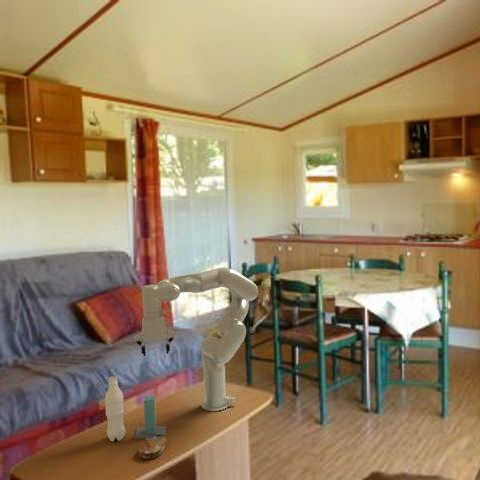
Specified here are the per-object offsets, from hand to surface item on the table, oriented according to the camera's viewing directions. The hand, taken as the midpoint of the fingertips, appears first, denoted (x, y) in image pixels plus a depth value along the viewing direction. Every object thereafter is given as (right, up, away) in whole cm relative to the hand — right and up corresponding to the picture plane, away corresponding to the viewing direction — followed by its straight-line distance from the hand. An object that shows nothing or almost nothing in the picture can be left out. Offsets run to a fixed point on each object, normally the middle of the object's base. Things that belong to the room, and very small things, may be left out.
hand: (156, 354), depth 223 cm
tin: (-2, -30, -23) cm, 38 cm away
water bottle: (-14, -31, -13) cm, 36 cm away
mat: (-1, -30, -10) cm, 31 cm away
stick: (-1, -29, -10) cm, 31 cm away
